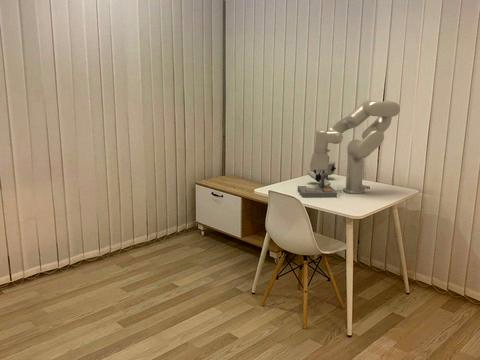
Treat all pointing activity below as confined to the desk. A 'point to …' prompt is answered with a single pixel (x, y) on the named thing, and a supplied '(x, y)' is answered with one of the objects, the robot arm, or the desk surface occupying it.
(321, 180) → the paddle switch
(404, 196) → the desk surface
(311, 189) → the grey button
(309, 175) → the pale slanted lever
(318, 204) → the desk surface
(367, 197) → the desk surface
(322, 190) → the copper button
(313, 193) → the dark grey tray
